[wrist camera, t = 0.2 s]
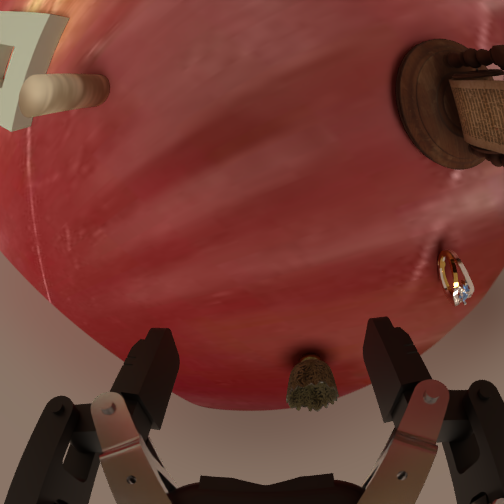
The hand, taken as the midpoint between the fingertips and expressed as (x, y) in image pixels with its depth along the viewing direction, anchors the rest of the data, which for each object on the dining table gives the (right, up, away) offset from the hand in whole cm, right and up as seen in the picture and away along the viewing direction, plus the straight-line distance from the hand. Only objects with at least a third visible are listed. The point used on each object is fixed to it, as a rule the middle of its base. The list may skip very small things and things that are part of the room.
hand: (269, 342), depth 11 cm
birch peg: (-19, +22, +14) cm, 33 cm away
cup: (+8, -13, +32) cm, 35 cm away
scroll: (+21, +20, +12) cm, 32 cm away
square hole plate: (-34, +31, +11) cm, 47 cm away
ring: (+25, +2, +22) cm, 33 cm away
